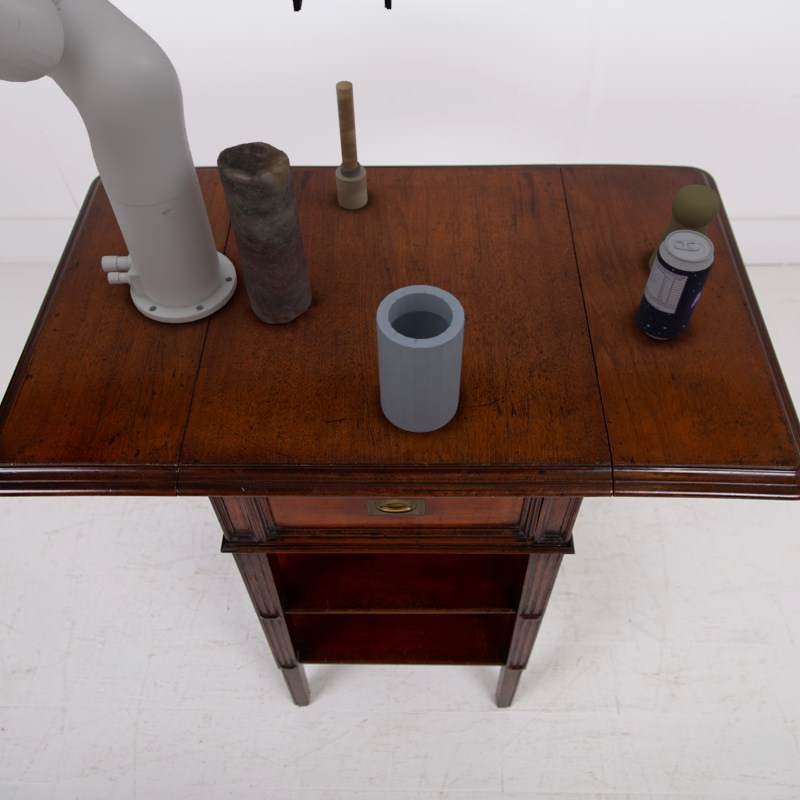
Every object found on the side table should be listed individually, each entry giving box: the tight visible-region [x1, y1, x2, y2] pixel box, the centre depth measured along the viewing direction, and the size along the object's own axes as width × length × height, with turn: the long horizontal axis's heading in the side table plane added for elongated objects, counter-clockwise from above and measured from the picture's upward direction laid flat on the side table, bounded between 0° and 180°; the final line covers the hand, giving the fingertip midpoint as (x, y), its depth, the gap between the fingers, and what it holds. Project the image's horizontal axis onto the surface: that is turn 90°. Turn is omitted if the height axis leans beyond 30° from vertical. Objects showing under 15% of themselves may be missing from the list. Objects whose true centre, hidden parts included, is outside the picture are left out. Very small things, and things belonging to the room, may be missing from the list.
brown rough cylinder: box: [216, 141, 313, 325], centre depth 83 cm, size 8×7×20 cm
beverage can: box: [635, 230, 715, 340], centre depth 82 cm, size 6×6×12 cm
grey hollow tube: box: [376, 284, 466, 433], centre depth 76 cm, size 8×8×13 cm
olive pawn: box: [648, 183, 721, 271], centre depth 89 cm, size 6×6×11 cm
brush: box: [335, 80, 368, 210], centre depth 96 cm, size 4×4×16 cm
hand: (343, 4), depth 81 cm, fingers open, 9 cm apart
